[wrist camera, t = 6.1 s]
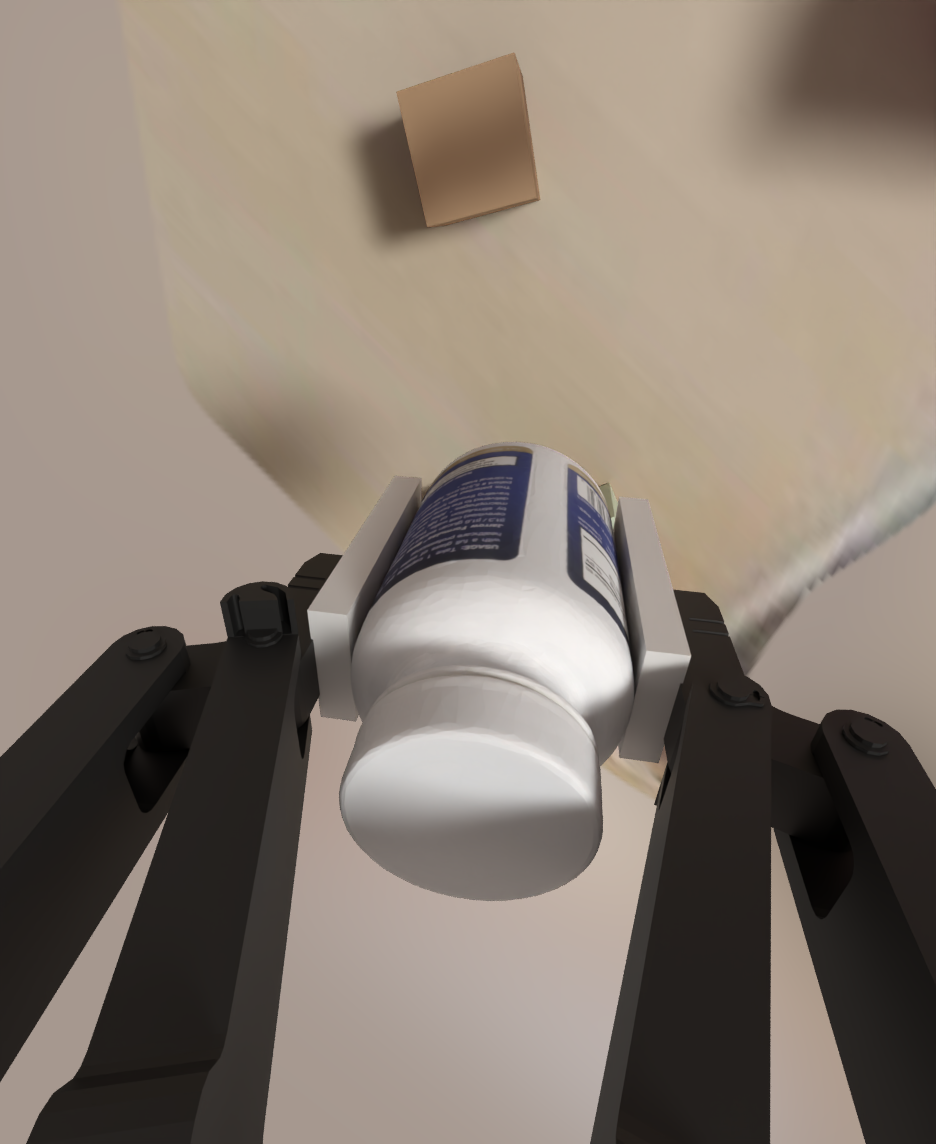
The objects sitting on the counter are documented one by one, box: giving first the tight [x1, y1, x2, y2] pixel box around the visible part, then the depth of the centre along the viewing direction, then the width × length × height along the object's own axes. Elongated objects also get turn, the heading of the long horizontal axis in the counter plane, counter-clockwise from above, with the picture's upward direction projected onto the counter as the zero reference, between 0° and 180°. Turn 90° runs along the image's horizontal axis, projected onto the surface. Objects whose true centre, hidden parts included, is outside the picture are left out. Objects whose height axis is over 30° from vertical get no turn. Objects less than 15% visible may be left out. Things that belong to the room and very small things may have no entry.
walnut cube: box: [396, 53, 540, 227], centre depth 27 cm, size 5×5×5 cm
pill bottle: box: [339, 442, 634, 901], centre depth 13 cm, size 5×5×10 cm
